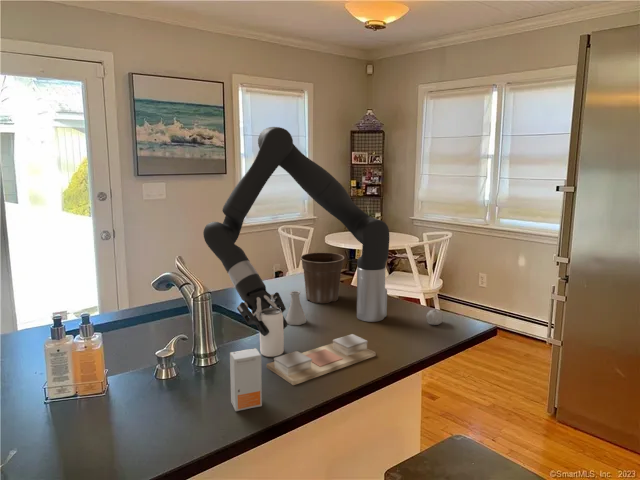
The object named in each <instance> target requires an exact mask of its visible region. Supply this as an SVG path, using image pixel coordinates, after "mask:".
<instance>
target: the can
mask: <svg viewBox="0 0 640 480" xmlns="http://www.w3.org/2000/svg"><path fill="white" fill-rule="evenodd" d="M283 316H284V315H283V313H281V309H278V308H272V307H270V308H266V309H263V310H262V312H261V318H262V320H261V321H263V323H264V324H265V326H266V327H267V328H268V330H269V333H268V334H267V335H266V336H263V335H262V334H261V333H260V332H259V349H260V352H259V353H260V354H261V356H263V357H266V358H275V357H279V356H282V355H283V353H284V352H285V351H284V350H285V347H284V346H285V345H284V344H285V343H284V342H285V341H284V340H285V339H284V334H285V333H284V329H283Z"/></svg>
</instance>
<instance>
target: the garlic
mask: <svg viewBox="0 0 640 480" xmlns="http://www.w3.org/2000/svg"><path fill="white" fill-rule="evenodd" d="M425 317H426V322H427V324H429V325H431V326H437V325H441V324H442V323H443V322H444V314H443V312H441V311H440V310H437V309H435V308H433V309H429V310H428V312H427V313H426V316H425Z"/></svg>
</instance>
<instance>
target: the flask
mask: <svg viewBox="0 0 640 480" xmlns="http://www.w3.org/2000/svg"><path fill="white" fill-rule="evenodd" d="M289 295H290V298H291V299H290V303H289V308H288V310H287V314H286V317H285V320H286V321H287V325H290V326H300V325H303V324H306V323H307V317H306V314H305V312H304V309H303V306H302V304H301V299H300V295H301V291H298V290H292V291H290V293H289Z"/></svg>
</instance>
